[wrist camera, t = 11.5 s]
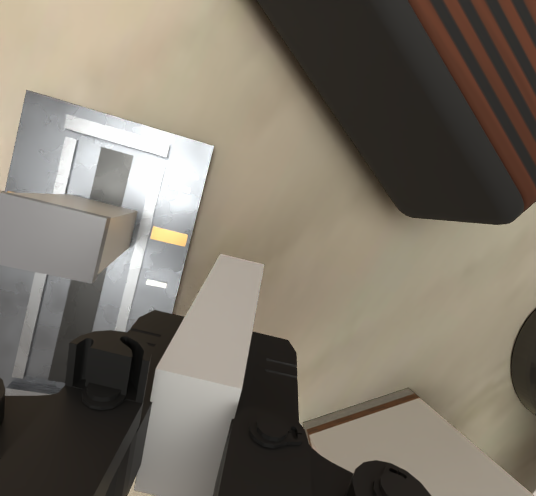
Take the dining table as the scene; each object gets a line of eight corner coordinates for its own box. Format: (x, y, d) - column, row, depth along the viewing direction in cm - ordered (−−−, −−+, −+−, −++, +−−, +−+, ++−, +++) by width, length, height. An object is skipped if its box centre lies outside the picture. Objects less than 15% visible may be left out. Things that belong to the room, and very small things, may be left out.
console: (146, 413, 35) (143, 430, 32) (-30, 389, 32) (-49, 406, 29) (212, 148, 33) (215, 144, 31) (34, 95, 30) (19, 85, 28)
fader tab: (130, 249, 31) (91, 283, 19) (60, 233, 30) (-31, 258, 18) (139, 210, 31) (107, 218, 18) (69, 192, 30) (-16, 188, 17)
